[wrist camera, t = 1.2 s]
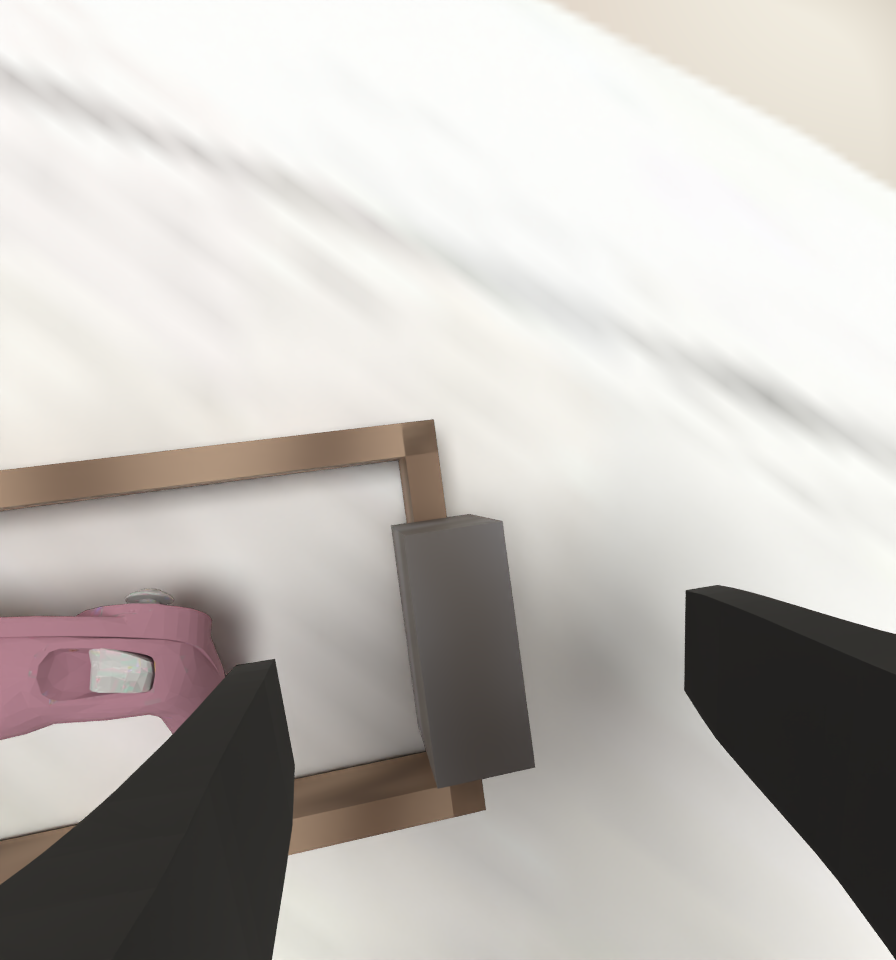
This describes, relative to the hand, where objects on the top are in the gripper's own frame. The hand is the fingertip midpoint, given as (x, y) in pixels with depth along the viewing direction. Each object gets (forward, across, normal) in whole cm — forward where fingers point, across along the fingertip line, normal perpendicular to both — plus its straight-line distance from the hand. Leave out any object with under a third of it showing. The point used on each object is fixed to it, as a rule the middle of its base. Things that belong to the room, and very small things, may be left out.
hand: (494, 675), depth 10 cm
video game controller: (+10, +12, +4) cm, 16 cm away
